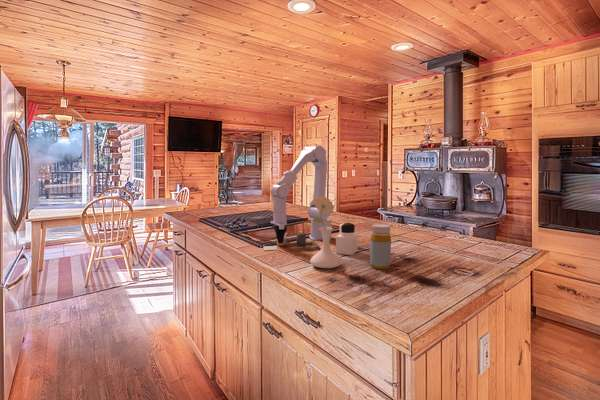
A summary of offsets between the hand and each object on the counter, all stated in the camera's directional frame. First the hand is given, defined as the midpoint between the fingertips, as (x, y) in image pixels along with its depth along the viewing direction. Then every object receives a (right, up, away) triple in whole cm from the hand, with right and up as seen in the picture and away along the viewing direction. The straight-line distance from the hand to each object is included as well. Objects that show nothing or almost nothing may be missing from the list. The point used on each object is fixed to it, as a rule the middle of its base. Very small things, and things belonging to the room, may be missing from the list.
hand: (280, 242), depth 151 cm
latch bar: (0, -1, +4) cm, 4 cm away
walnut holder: (+10, -2, -3) cm, 11 cm away
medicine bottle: (+28, -3, -11) cm, 30 cm away
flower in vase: (+18, -5, -28) cm, 34 cm away
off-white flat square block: (-4, -2, -6) cm, 7 cm away
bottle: (+37, -5, -30) cm, 48 cm away
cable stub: (+9, -2, -3) cm, 10 cm away
